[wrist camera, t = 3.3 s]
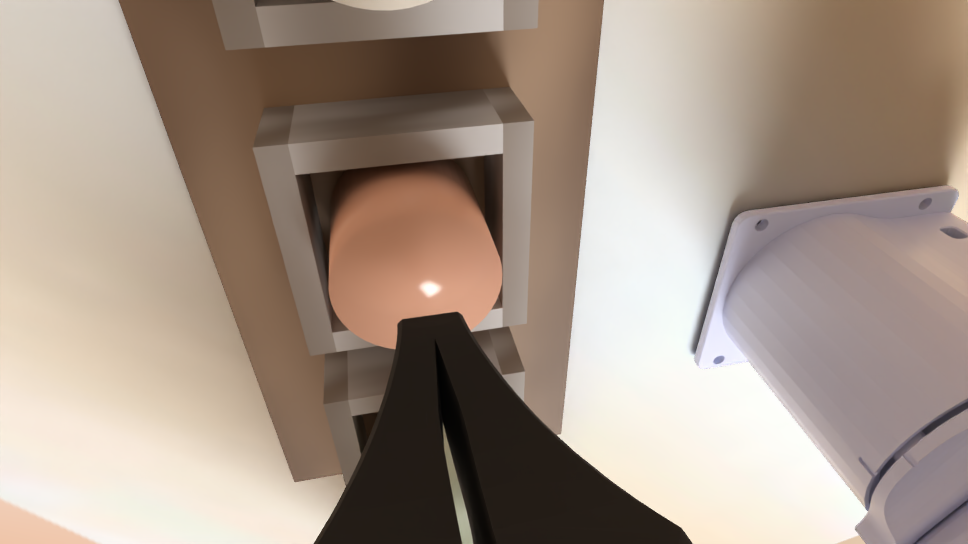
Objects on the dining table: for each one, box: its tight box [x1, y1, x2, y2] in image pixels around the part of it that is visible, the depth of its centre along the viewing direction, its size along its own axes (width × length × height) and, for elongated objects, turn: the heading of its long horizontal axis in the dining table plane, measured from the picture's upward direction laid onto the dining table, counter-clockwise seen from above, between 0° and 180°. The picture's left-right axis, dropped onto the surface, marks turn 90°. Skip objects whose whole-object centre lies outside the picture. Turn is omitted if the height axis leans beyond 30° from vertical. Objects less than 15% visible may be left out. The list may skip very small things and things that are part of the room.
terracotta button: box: [329, 159, 502, 349], centre depth 16 cm, size 4×4×4 cm
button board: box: [119, 0, 604, 486], centre depth 17 cm, size 12×26×3 cm, turn 0°
